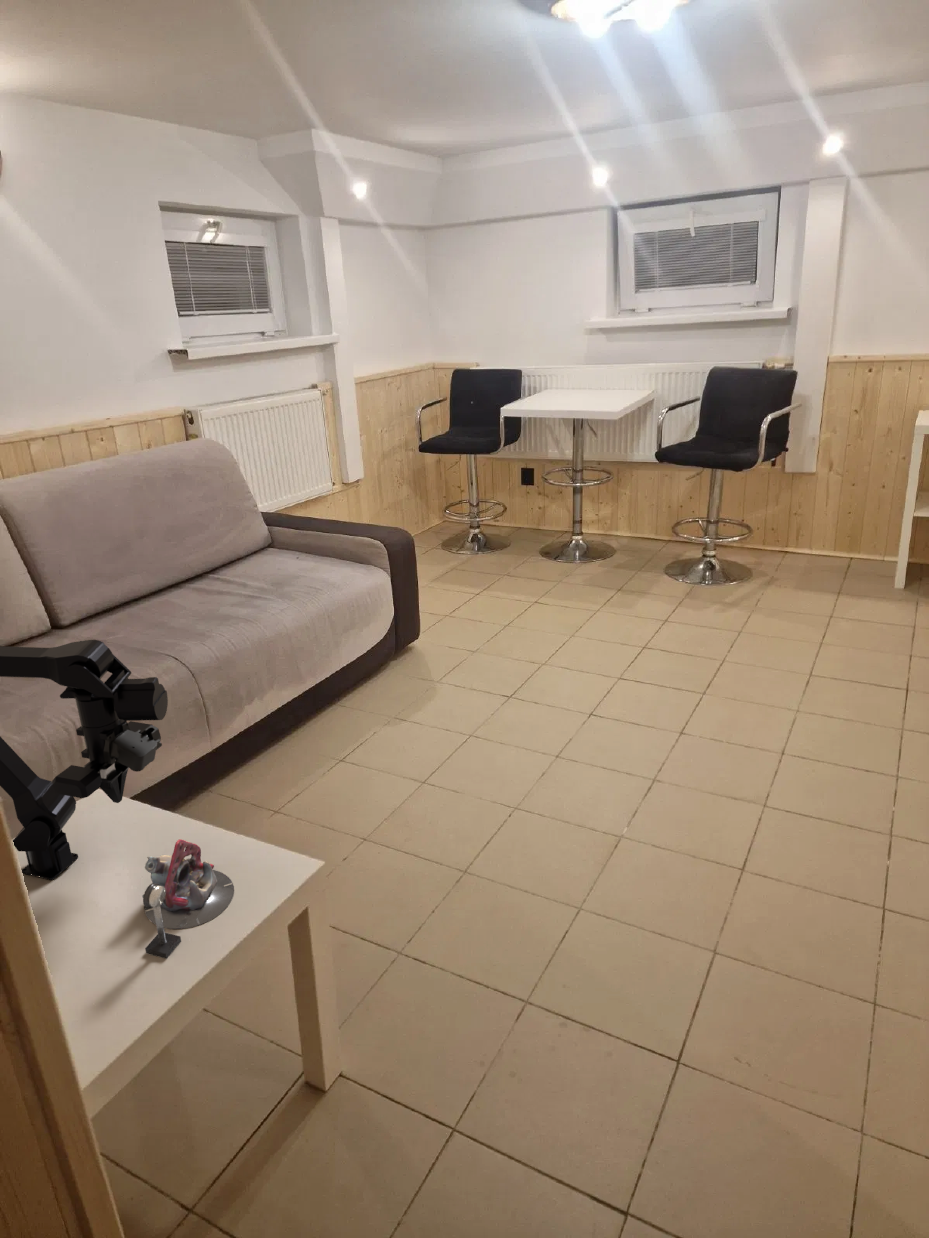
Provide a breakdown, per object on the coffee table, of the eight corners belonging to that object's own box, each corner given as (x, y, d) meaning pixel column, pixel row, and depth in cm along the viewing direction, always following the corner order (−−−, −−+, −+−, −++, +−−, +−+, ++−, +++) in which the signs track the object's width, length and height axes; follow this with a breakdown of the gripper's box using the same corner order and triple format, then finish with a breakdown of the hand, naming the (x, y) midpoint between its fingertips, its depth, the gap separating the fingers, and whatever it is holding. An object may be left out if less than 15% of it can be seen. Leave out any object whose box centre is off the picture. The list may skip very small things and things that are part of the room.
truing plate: (125, 918, 130) (125, 917, 130) (178, 862, 142) (178, 861, 142) (203, 937, 126) (202, 936, 126) (250, 878, 138) (250, 877, 138)
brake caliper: (208, 913, 127) (155, 858, 125) (161, 939, 131) (110, 886, 128) (239, 866, 137) (191, 813, 135) (195, 891, 141) (148, 841, 139)
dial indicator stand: (146, 953, 123) (134, 892, 119) (160, 936, 126) (150, 876, 122) (166, 958, 122) (155, 897, 118) (181, 941, 125) (171, 880, 121)
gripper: (102, 756, 120) (121, 844, 126) (179, 698, 136) (192, 778, 142) (40, 746, 123) (61, 832, 129) (122, 690, 139) (138, 768, 145)
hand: (117, 801), depth 136 cm, fingers closed
